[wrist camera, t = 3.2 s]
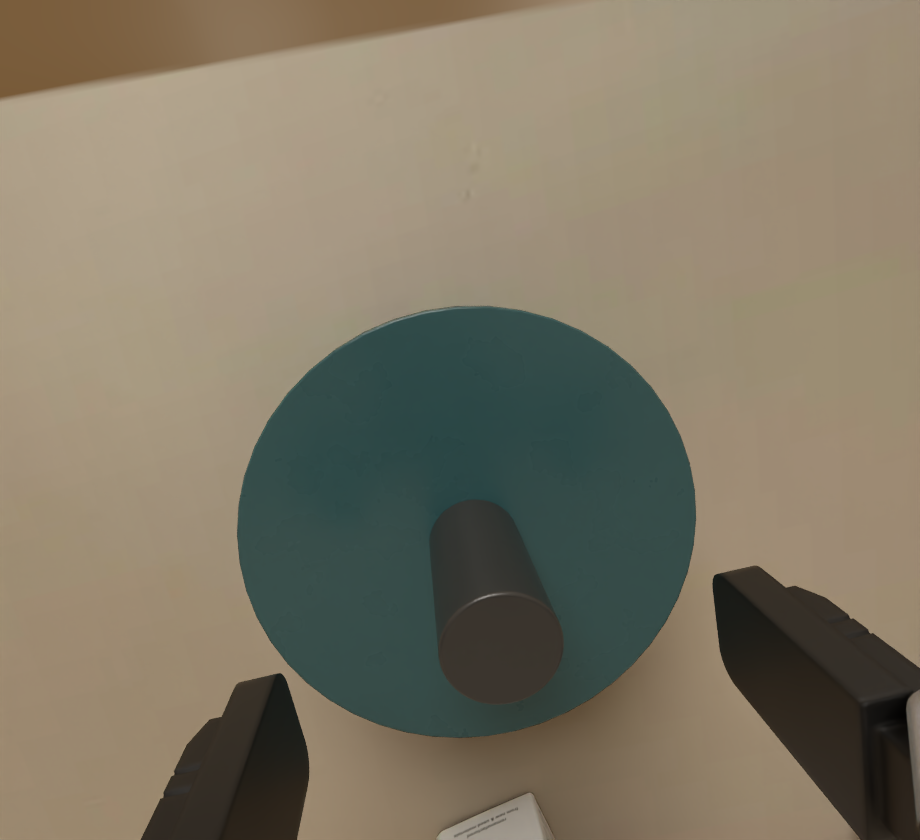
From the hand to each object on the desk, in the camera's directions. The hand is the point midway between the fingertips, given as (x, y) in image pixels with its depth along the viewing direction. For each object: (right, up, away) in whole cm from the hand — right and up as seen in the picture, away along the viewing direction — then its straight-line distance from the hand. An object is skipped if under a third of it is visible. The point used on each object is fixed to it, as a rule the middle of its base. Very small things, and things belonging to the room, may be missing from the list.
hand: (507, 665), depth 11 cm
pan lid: (-1, +1, +6) cm, 6 cm away
